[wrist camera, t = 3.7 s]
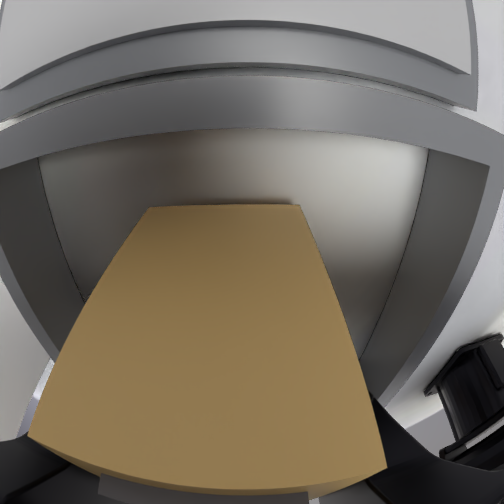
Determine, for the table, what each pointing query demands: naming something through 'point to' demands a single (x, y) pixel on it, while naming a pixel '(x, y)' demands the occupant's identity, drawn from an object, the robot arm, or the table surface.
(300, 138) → the table surface
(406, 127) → the equipment case
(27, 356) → the milk
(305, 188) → the table surface
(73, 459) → the ochre module
